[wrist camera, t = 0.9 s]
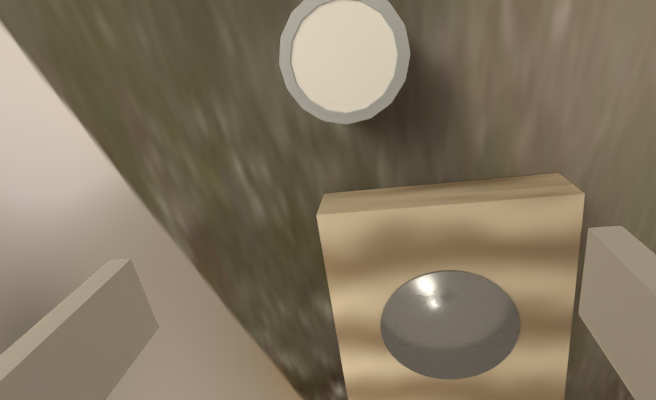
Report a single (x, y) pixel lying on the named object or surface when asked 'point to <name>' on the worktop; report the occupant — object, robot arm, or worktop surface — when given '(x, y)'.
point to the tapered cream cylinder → (344, 58)
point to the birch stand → (454, 287)
